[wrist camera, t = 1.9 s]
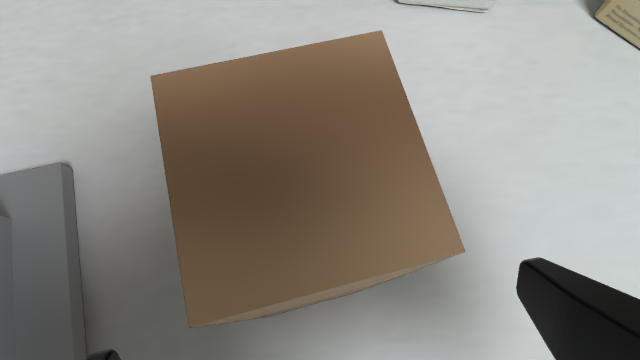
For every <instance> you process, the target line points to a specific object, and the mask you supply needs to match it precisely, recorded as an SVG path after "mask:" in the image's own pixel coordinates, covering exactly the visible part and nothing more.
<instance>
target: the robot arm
mask: <svg viewBox="0 0 640 360" xmlns="http://www.w3.org/2000/svg"><path fill="white" fill-rule="evenodd" d="M516 289H517V294H518V297H519V299H520V301H521V302H522V304H523V306H524V307H525V309H526V311H527V313H528V314H529V316H530V318H531V319H532V321H533V323H534V324H535V326H536V328H537V330H538V331H539V333H540V335H541V336H542V338H543V340H544V341H545V343H546V345H547V346H548V348H549V350H550V351H551V353H552V355H553V356H554V358H555V359H556V360H640V299H638V298H635V297H633V296H631V295H628V294H626V293H623V292H621V291H619V290H616V289H614V288H612V287H609V286H607V285H605V284H602V283H600V282H597V281H595V280H593V279H590V278H588V277H586V276H583V275H581V274H579V273H576V272H574V271H571V270H569V269H567V268H564V267H562V266H560V265H557V264H555V263H552V262H550V261H548V260H545V259H543V258H532V259H527V260H524V261H522V262H521V263H520V266H519V273H518V279H517V286H516ZM86 360H121V359H120V357H119V356H118V354H117V352H116V351H115V350H111V349H110V350H105V351H101V352H96V353H93V354H92V355H90V356H89V357H88V358H87V359H86Z"/></svg>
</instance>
